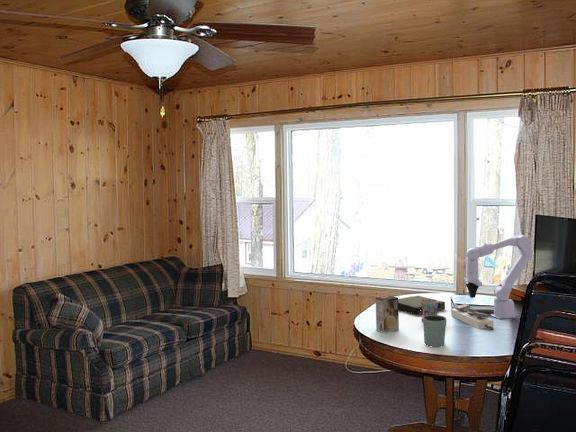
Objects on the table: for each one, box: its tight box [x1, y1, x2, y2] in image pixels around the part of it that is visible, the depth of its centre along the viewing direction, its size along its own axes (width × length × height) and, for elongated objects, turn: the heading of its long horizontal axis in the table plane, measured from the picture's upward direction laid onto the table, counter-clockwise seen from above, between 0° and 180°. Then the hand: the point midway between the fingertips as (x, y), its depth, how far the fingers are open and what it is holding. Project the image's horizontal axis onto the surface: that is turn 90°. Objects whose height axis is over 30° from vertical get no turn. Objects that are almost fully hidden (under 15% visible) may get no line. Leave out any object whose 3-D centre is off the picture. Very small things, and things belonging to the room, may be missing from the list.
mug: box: [420, 298, 440, 322], centre depth 290 cm, size 12×9×11 cm
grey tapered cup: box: [422, 314, 448, 348], centre depth 251 cm, size 10×10×12 cm
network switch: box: [398, 295, 446, 316], centre depth 316 cm, size 23×24×5 cm
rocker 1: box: [455, 303, 471, 311], centre depth 295 cm, size 6×4×2 cm, turn 102°
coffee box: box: [375, 295, 400, 333], centre depth 275 cm, size 9×6×16 cm
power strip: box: [450, 308, 494, 331], centre depth 285 cm, size 8×32×4 cm, turn 13°
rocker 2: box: [464, 307, 478, 313], centre depth 287 cm, size 6×4×2 cm, turn 104°
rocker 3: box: [473, 311, 489, 318], centre depth 280 cm, size 6×4×2 cm, turn 103°
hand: (472, 297), depth 297 cm, fingers closed
